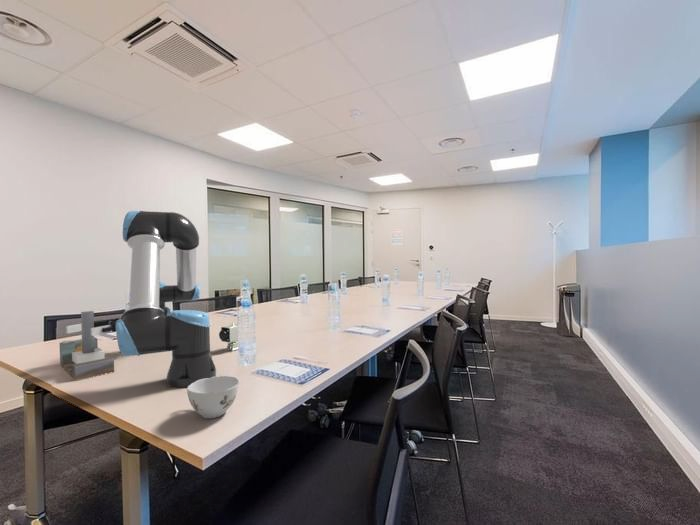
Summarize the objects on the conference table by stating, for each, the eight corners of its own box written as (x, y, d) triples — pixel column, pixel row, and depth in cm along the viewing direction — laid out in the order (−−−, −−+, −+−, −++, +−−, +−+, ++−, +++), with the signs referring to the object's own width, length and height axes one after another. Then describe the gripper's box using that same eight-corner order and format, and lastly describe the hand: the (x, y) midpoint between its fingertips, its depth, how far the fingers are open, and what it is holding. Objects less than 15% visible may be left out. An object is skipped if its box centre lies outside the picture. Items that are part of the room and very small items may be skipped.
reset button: (88, 354, 128) (88, 344, 128) (75, 356, 125) (75, 346, 125) (84, 351, 133) (84, 341, 133) (71, 353, 130) (71, 343, 130)
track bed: (114, 371, 119) (113, 346, 119) (75, 380, 110) (74, 353, 110) (94, 358, 136) (94, 336, 136) (60, 365, 128) (59, 341, 128)
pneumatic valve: (247, 347, 150) (246, 321, 150) (226, 354, 140) (225, 326, 140) (238, 346, 153) (238, 320, 152) (217, 352, 142) (217, 325, 142)
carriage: (104, 364, 121) (103, 311, 121) (77, 369, 115) (76, 314, 115) (98, 360, 126) (97, 309, 126) (72, 365, 120) (71, 312, 120)
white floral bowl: (249, 409, 87) (248, 379, 87) (207, 430, 76) (206, 396, 76) (214, 397, 95) (214, 370, 95) (172, 415, 85) (171, 384, 85)
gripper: (156, 330, 134) (102, 343, 114) (115, 327, 142) (57, 338, 122) (156, 312, 134) (101, 322, 114) (114, 310, 142) (57, 319, 122)
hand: (78, 331), depth 118 cm, fingers open, 13 cm apart
